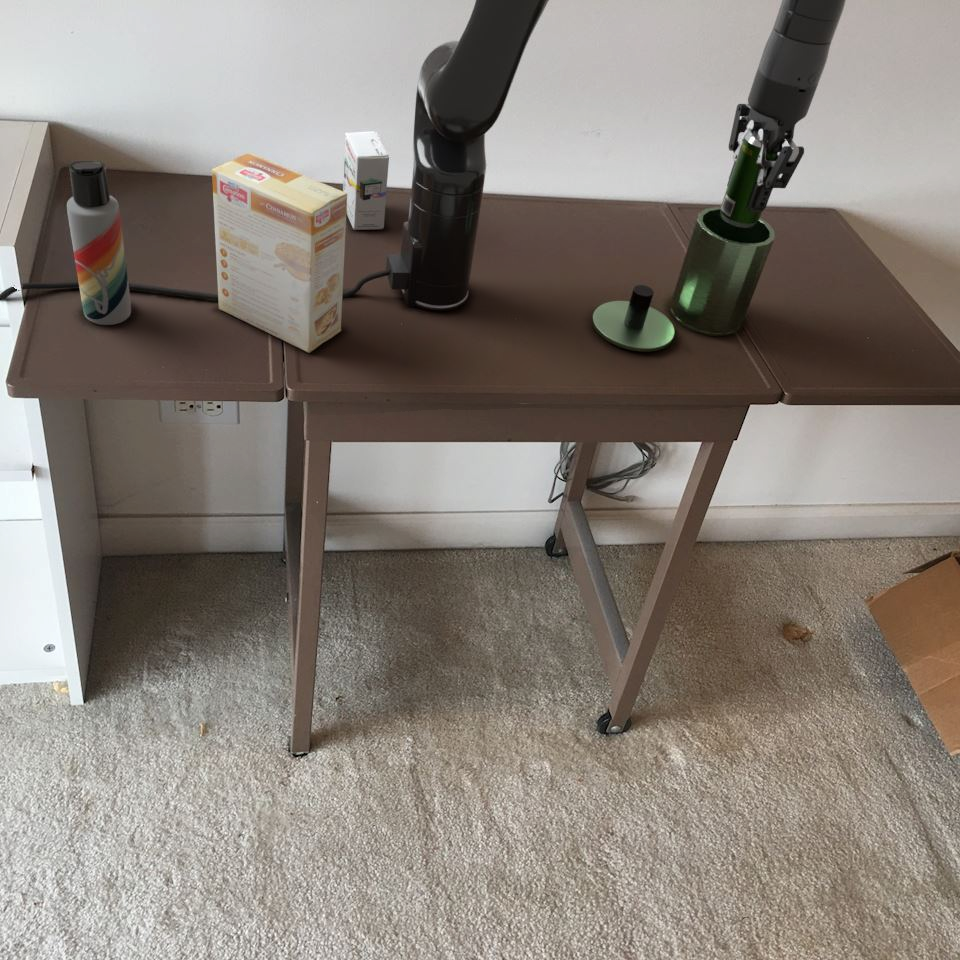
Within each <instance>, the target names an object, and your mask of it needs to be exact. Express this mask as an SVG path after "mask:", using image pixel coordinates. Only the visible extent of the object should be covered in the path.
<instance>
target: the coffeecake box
mask: <svg viewBox="0 0 960 960" xmlns="http://www.w3.org/2000/svg"><path fill="white" fill-rule="evenodd" d="M211 177H212V196H213V197H212V201H213V219H214V234H215V235H214V239H215V240H214V241H215V257H216V258H215V259H216V273H217V274H216V276H217V277H216V278H217V279H216V280H217V281H216V282H217V295H218V300H217V301H218V309H219V310H220V311H223V312H225V313H226V314H228V315H231V316H233V317H234V318H237V319H239V320H241V321H243V322H244V323H247V324H249V325H251V326H253V327H255V328H257V329H259V330H261V331H263V332H265V333H268V334H270V335H272V336H273V337H275V338H278V339H280V340H282V341H284V342H286V343H288V344H289V345H291V346H294V347H296V348H298V349H300V350H302V351H304V352H306V353H308V354H309V353H312V352H313V351H314V350H316V349H317V348H318V347H319V346H321V345H322V344H323V343H325V342H327V341H329V340H330V339H332V338H333V337H335V336H336V335H338V334H339V333H340V332H341V331H342V313H343V298H342V294H343V292H344V289H343V288H344V272H345V271H344V270H345V251H346V250H345V249H346V230H347V228H346V227H347V213H346V209H347V193H345V192H343V190H341V189H338V188H336V187H334V186H331V185H328V184H327V183H323V182H322V181H319V180H317V179H314V178H311V177H310V176H307V175H304V174H302V173H300V172H297V171H294V170H293V169H290V168H287V167H285V166H282V165H280V164H278V163H276V162H274V161H271V160H268V159H266V158H264V157H262V156H258V155H257V154H254V153H252V152H247V153H245V154H242V155H240V156H238V157H236V158H234V159H232V160H230V161H228V162H225V163H222V164H220V165H218V166H216V167H214V168H212V169H211Z"/></svg>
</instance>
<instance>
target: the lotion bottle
mask: <svg viewBox="0 0 960 960" xmlns="http://www.w3.org/2000/svg"><path fill="white" fill-rule="evenodd" d="M68 167H69V168H68V169H69V175H70V182H71V183H70V184H71V192H72V196H71V197H70V198H69V199H68V200H67V202H66V212H67V218H68V225H69V226H68V227H69V231H70V237H71V244H72V249H73V255H74V264H75V269H76V275H77V281H78V282H79V287H78V288H79V293H80V300H81V306H82V310H83V314H84V317H85V318H86V319H87V320H88V321H89V322H91V323H93V324H96V325H99V326H111V325H112V326H113V325H117V324H121V323H123V322H125V321H126V320H127V319H129V317H130V316H131V313H132V302H131V294H130V289H129V285H128V283H129V277H128V276H129V275H128V270H127V269H128V268H127V262H126V261H127V260H126V253H125V245H124V237H123V229H122V218H121V212H120V206H119V205H120V204H119V202H118V200H117V198H115V197H114V196H112V195H110V189H109V181H108V176H107V168H106V164H105V163H104V162H102V161H98V160H97V161H96V160H79V161H78V160H77V161H73V162H71V163H69V164H68Z"/></svg>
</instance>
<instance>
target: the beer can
mask: <svg viewBox="0 0 960 960" xmlns="http://www.w3.org/2000/svg"><path fill="white" fill-rule="evenodd" d="M759 139H760V138H759V137H758V131H757V130H753V132H751V129H750V128H749V129H748V132H747V133H746V134H745V136H744V139H743V142H742V145H741V148H740V151H739V154H738V157H737V160H736V163H735V166H734V169H733V172H732V175H731V178H730V181H729V180H728V181H729V184H728V183H727V184H728V187H726V189H725V193H724V196H723V199H722V202H721V205H720V207H721V208H720V213H721V217H722V219H723V220H724V221H725V222H727V223H729V224H731V225H734V226H737V227H743V228H748V227H752V226H754V225H755V224H756V223H757V222H758V220H759V219H760V218H761V216H762V213H763V211H762V212H750V211H749V210H748V208H747V206H748V203H749V201H750V198H751V195H752V192H753V189H754V186H755V184H756V183H757V178H758V170H759V167H758V166H757V165H756V161H757V158H758V155H759V152H760V150H761V143H760V142H759V141H758V140H759ZM767 143H768V140H767ZM765 158H766V160H767V161H776V160H777V158H778V155H777V154H768V153H767V149H766V157H765ZM772 168H773V167H768V168H767V173H766V176H769V174H770V172H771V170H772Z"/></svg>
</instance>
